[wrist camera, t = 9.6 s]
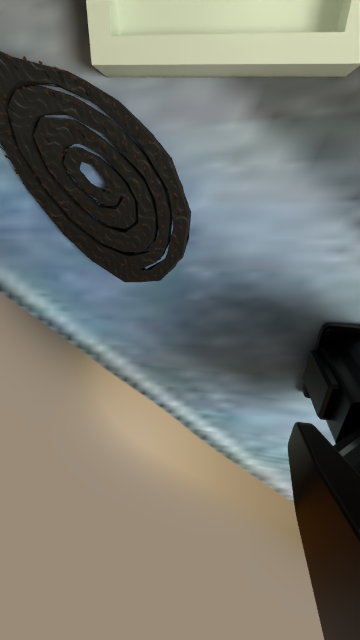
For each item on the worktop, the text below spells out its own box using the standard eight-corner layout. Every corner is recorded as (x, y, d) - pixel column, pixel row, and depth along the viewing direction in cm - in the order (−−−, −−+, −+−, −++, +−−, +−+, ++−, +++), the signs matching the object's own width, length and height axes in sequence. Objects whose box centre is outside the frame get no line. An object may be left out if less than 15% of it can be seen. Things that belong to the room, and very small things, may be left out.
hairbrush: (-289, -353, 9) (222, 222, 14) (-153, -214, 13) (225, 215, 18) (-289, -62, 13) (122, 319, 18) (-183, -13, 16) (139, 298, 21)
